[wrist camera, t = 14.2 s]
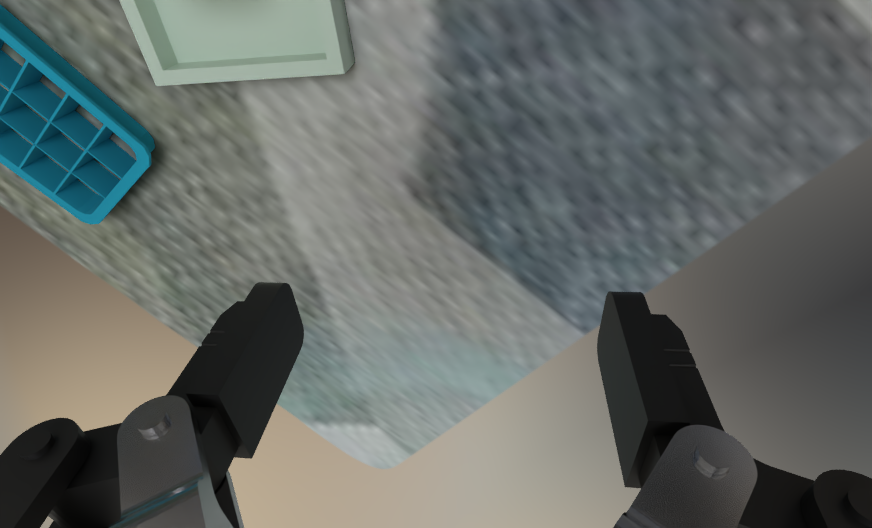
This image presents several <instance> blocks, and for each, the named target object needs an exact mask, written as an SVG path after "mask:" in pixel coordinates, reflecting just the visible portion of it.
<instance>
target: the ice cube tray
mask: <svg viewBox="0 0 872 528" xmlns="http://www.w3.org/2000/svg"><path fill="white" fill-rule="evenodd" d="M4 42H5V43H7V44H8V45H9V46H10V47H11V48H13V49H14V50H15V51H16V52H17V53H19V54H20V55H21V56H22V57H23V58H25V59H26V61H25V63H24V65H23V67H22V66H21V65H19V64H18V63H17V62H16V61H14V60H13V59H12V58H11V57H10V56H8V55H7V54H6V53H5V52H3V51H2V50H1V48H2V46H3V44H4ZM43 74H44V75H45V76H46V77H47V78H49V79H50V80H51V81H52V82H53V83H55V84H56V85H57V86H58V87H60V88H61V89H62V90H63V91H64V92H66V95H65V96H64V98H63V99H61V98H59V97H58V96H57V95H56V94H55V93H53V92H52V91H51V90H50V89H48V88H47V87H46V86H45V85H44V84H42V83H41V82H40V81H39V80H40V79H41V77H42V75H43ZM0 83H1V84H2V85H3V86H4V87H6V88H7V89H8V90H9V92H8V91H7V90H5V89H4V88H3V87H2V86H0V162H1V163H2V164H3V165H5V166H6V167H8V168H9V169H10V170H12V171H13V172H14V173H16V174H17V175H19V176H20V177H21V178H23V179H24V180H25V181H27V182H28V183H30V184H31V185H32V186H34V187H35V188H36V189H38V190H39V191H41V192H42V193H43V194H45V195H46V196H48V197H49V198H50V199H52V200H53V201H54V202H56V203H57V204H59V205H60V206H61V207H63V208H64V209H65V210H67V211H68V212H70V213H71V214H72V215H74V216H75V217H76V218H78V219H79V220H81V221H82V222H85V223H88V224H99V223H100V222H101V221H102V220H103V219H104V218H105V217H106V216H107V215H108V213H109V212H110V211H111V210H112V209H113V208H114V207H115V205H116V204H117V203H118V202H119V201H120V200H121V199H122V197H123V196H124V195H125V194H126V193H127V192H128V191H129V189H130V188H131V187H132V186H133V185H134V184H135V183H136V181H137V180H138V179H139V178H140V177H141V176H142V175H143V173H144V172H145V171H146V170H147V169H148V168H149V167H150V165H151V154H150V153H151V152H152V151H153V150H154V148H155V144H154V139H153V138H152V136H151V135H150V134H149V132H148V131H147V130H146V129H145V128H143V127H142V126H141V125H140V124H139V123H138V122H136V121H135V120H134V119H133V118H132V117H131V116H129V115H128V114H127V113H126V112H125V111H124V110H122V109H121V108H120V107H119V106H118V105H117V104H115V103H114V102H113V101H112V100H111V99H110V98H108V97H107V96H106V95H105V94H104V93H103V92H102V91H100V90H99V89H98V88H97V87H96V86H95V85H93V84H92V83H91V82H90V81H89V80H88V79H86V78H85V77H84V76H83V75H82V74H81V73H79V72H78V71H77V70H76V69H75V68H74V67H72V66H71V65H70V64H69V63H68V62H67V61H65V60H64V59H63V58H62V57H61V56H60V55H58V54H57V53H56V52H55V51H54V50H53V49H52V48H50V47H49V46H48V45H47V44H46V43H45V42H43V41H42V40H41V39H40V38H39V37H38V36H36V35H35V34H34V33H33V32H32V31H31V30H29V29H28V28H27V27H26V26H25V25H24V24H22V23H21V22H20V21H19V20H18V19H17V18H15V17H14V16H13V15H12V14H11V13H10V12H8V11H7V10H6V9H5V8H4V7H3V6H1V5H0ZM25 104H27V105H28V106H30V107H31V108H32V109H33V110H35V111H36V112H37V113H39V114H40V115H41V116H42V117H44V118H45V119H46V120H47V121H48V123H47V122H46V121H44V120H43V119H42V118H41V117H39V116H38V115H37V114H36V113H34V112H33V111H32V110H31V109H29V108H28V107H27V106H26V105H25ZM79 104H80V105H81V106H82V107H84V108H85V109H86V110H87V111H88V112H90V113H91V114H92V115H93V116H94V117H96V118H97V119H98V120H99V121H100V122H102V123H103V124H104V125H103V126H102V128H101V129H100V130H98V129H97V128H96V127H95V126H93V125H92V124H91V123H90V122H89V121H87V120H86V119H85V118H84V117H83V116H81V115H80V114H79V113H78V112H76V111H75V110H76V108H77V107H78V105H79ZM11 128H12V129H14V130H15V131H16V132H18V133H19V134H20V135H22V136H23V137H24V138H26V139H27V140H28V141H30V142H31V143H32V144H33V146H32V145H31V144H30V143H28V142H27V141H26V140H25V139H23V138H22V137H21V136H19V135H18V134H17V133H15V132H14V131H13V130H11ZM60 132H62V133H64V134H65V135H66V136H68V137H69V138H70V139H71V140H73V141H74V142H75V143H76V144H78V145H79V146H80V147H81V148H83V149H84V150H85V151H82V150H81V149H80V148H79V147H77V146H76V145H75V144H74V143H72V142H71V141H70V140H68V139H67V138H66V137H65V136H63V135H62V134H61V133H60ZM113 132H114V133H115V134H116V135H117V136H119V137H120V138H121V139H122V140H123V141H125V142H126V143H127V144H128V145H129V146H130V147H131V148H132V149H133V151H134V152H135V154H136V159H137V161H136V160H135V159H134V158H132V157H131V156H130V155H129V154H128V153H126V152H125V151H124V150H123V149H121V148H120V147H119V146H118V145H117V144H115V143H114V142H113V141H112V140H111V139H109V137H110V136H111V135H112V133H113ZM45 154H47V155H48V156H49V157H51V158H52V159H53V160H54V161H56V162H57V163H58V164H60V165H61V166H62V167H64V168H65V169H66V170H68V171H69V172H67V171H65V170H64V169H63V168H61V167H60V166H59V165H57V164H56V163H55V162H53V161H52V160H51V159H49V158H48V157H47V156H46V155H45ZM93 158H95V159H97V160H98V161H99V162H100V163H102V164H103V165H104V166H105V167H107V168H108V169H109V170H110V171H112V172H113V173H114V174H116V175H117V176H118V177H119V178H121V180H119V179H118V178H117V177H115V176H114V175H113V174H111V173H110V172H109V171H108V170H106V169H105V168H104V167H103V166H101V165H100V164H99V163H98V162H96V161H95V160H94V159H93ZM77 179H79V180H81V181H82V182H83V183H85V184H86V185H87V186H89V187H90V188H91V189H93V190H94V191H95V192H96V193H98V194H99V195H98V194H95V193H94V192H93V191H92V190H90V189H89V188H88V187H86V186H85V185H84V184H82V183H81V182H80V181H78V180H77Z"/></svg>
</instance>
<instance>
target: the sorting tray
mask: <svg viewBox="0 0 872 528" xmlns="http://www.w3.org/2000/svg"><path fill="white" fill-rule="evenodd" d="M120 3H121V5H122V7H123V10H124V12H125V14H126V17H127V19H128V21H129V24H130V26H131V28H132V31H133V33H134V35H135V38H136V40H137V42H138V45H139V47H140V49H141V52H142V54H143V56H144V59H145V61H146V63H147V66H148V68H149V70H150V73H151V75H152V77H153V80H154V82H155V84H156V86H163V85H179V84H195V83H211V82H227V81H243V80H259V79H274V78H290V77H306V76H322V75H338V74H345V73H346V72H347V71H348V70H349V69H350V67H351V66H352V65H353V64H354V63H355V59H354V53H353V48H352V42H351V37H350V31H349V25H348V20H347V14H346V9H345V3H344V0H120Z"/></svg>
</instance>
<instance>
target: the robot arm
mask: <svg viewBox="0 0 872 528" xmlns="http://www.w3.org/2000/svg"><path fill="white" fill-rule="evenodd" d="M210 331H211V332H210V334H209V333H208V335H207V336H206V337H205V339H204V340H203V342H202V346H199V348H198V349H197V351H196V352H195V354H194V355H193V357H192V358H191V360H190V361H189V363H188V364H187V366H186V367H185V369H184V370H183V371H182V373H181V375H180V376H179V377H178V379H177V381H176V382H175V383H174V385H173V386H172V388H171V389H170V391H169V392H168V394H167V395H166V396H162V397H158V398H154V399H152V400H149V401H147V402H145V403H144V404H142V405H140V406H139V407H138V408H136V409H135V410H133V411H132V412H131V413H130V414H129V415H128V416H127V417H126V419H125V420H124V421H123V423H120V424H115V425H111V426H107V427H102V428H98V429H93V430H89V431H85V432H83V431H82V430H81V429H80V427H79V426H78V425H77V424H76V423H75V422H74V421H73V420H71V419H68V418H56V419H51V420H48V421H44V422H42V423H40V424H37V425H35V426H34V427H32V428H30V429H28V430H27V431H25V432H23V433H22V434H21V435H20V436H18V437H17V438H16V439H15V440H14V441H12V443H11V444H10V445H9V446H8V447H7V448H6V449H5V450H4V451H3V453H2V454H1V455H0V528H40V527H41V525H42V524H43V522H44V521H45V519H46V518H47V516H49V517H50V518H51V519H53V520H54V521H53V522H52V524H51V525H50V527H49V528H244V525H243V522H242V518H241V514H240V511H239V506H238V503H237V498H236V495H235V491H234V487H233V483H232V479H231V476H230V473H229V471H228V468H229V466H230V464H231V462H232V460H233V458H234V457H238V458H252V457H253V455H254V453H255V450H256V448H257V446H258V444H259V441H260V439H261V437H262V435H263V432H264V430H265V428H266V426H267V424H268V421H269V419H270V417H271V414H272V412H273V410H274V408H275V406H276V403H277V401H278V399H279V397H280V394H281V392H282V390H283V388H284V386H285V383H286V381H287V379H288V377H289V374H290V372H291V370H292V368H293V365H294V363H295V361H296V359H297V356H298V354H299V352H300V350H301V347H302V344H303V338H304V329H303V324H302V321H301V317H300V314H299V311H298V308H297V305H296V302H295V299H294V295H293V292H292V289H291V287H290V285H289V284H287V283H264V282H259V283H257V284H256V285H255V286H254V287H253V289H252V290H251V292H250V293H249V295H248V296H247V298H246V299H245V301H237V302H236V303H235V304H234V305H232V306H231V307H230V308H229V309H227V310H226V311H225V312H224V313H222V314H221V315H220V317H219V318H218V320H217V321H216V323H215V324H214V326H213V327H212V329H211V330H210ZM689 350H690V349H689V347H688V345H687V342H686V340H685V337H684V335H683V333H682V331H681V330H680V329H679V328H678V327H677V326H676V325H675V324H674V323H673V322H672V321H671V320H670V319H669V318H668V317H667V316H666V315H656V314H651V313H650V310H649V308H648V305H647V302H646V299H645V297H644V295H643V293H641V292H608V294H607V296H606V300H605V305H604V310H603V315H602V320H601V325H600V330H599V335H598V343H597V352H598V361H599V366H600V371H601V376H602V380H603V385H604V390H605V394H606V399H607V404H608V409H609V413H610V418H611V423H612V428H613V433H614V437H615V442H616V447H617V451H618V456H619V461H620V466H621V470H622V475H623V480H624V485H625V487H633V488H641V490H640V492H639V494H638V495H637V497H636V499H635V500H634V502H633V503H632V505H631V507H630V508H629V510H628V511H627V512H626V513H623V514H622V516H621V517H620V518H619V520H618V521H617V523H616V524H615V526H614V528H872V479H871V478H869V477H867V476H864V475H862V474H858V473H856V472H852V471H846V470H830V471H826V472H824V473H822V474H821V475H819V476H818V478H817V479H816V480H815V481H813V480H810V479H807V478H804V477H801V476H798V475H795V474H792V473H789V472H786V471H783V470H780V469H777V468H774V467H771V466H769V465H766V464H764V463H762V462H760V461H758V460H756V459H754V458H752V456H751V455H750V453H749V452H748V450H747V449H746V448H745V447H744V446H743V445H742V444H741V443H740V442H739V441H737V440H736V439H735V438H734V437H732V436H731V435H729V434H728V433H726V432H725V431H724V429H723V427H722V425H721V423H720V421H719V418H718V416H717V414H716V411H715V409H714V407H713V404H712V402H711V399H710V397H709V394H708V392H707V390H706V387H705V385H704V383H703V380H702V378H701V376H700V373H699V371H698V369H697V368H696V364H695V361H694V359H693V357H692V354H691V353H690V352H689Z"/></svg>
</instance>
